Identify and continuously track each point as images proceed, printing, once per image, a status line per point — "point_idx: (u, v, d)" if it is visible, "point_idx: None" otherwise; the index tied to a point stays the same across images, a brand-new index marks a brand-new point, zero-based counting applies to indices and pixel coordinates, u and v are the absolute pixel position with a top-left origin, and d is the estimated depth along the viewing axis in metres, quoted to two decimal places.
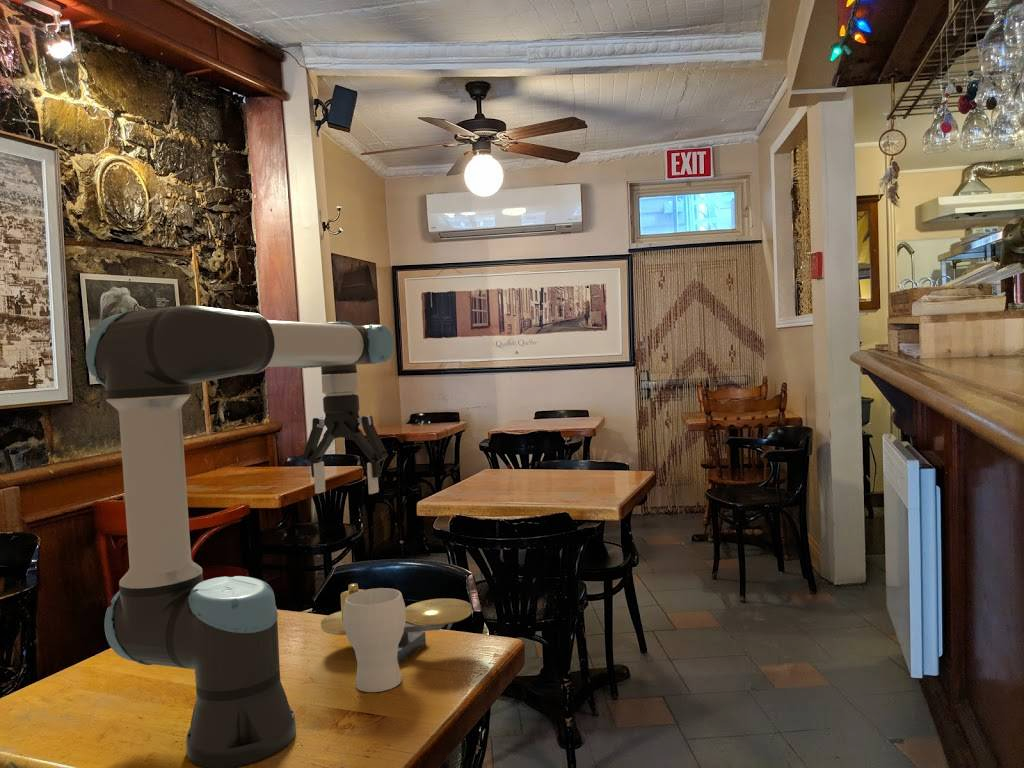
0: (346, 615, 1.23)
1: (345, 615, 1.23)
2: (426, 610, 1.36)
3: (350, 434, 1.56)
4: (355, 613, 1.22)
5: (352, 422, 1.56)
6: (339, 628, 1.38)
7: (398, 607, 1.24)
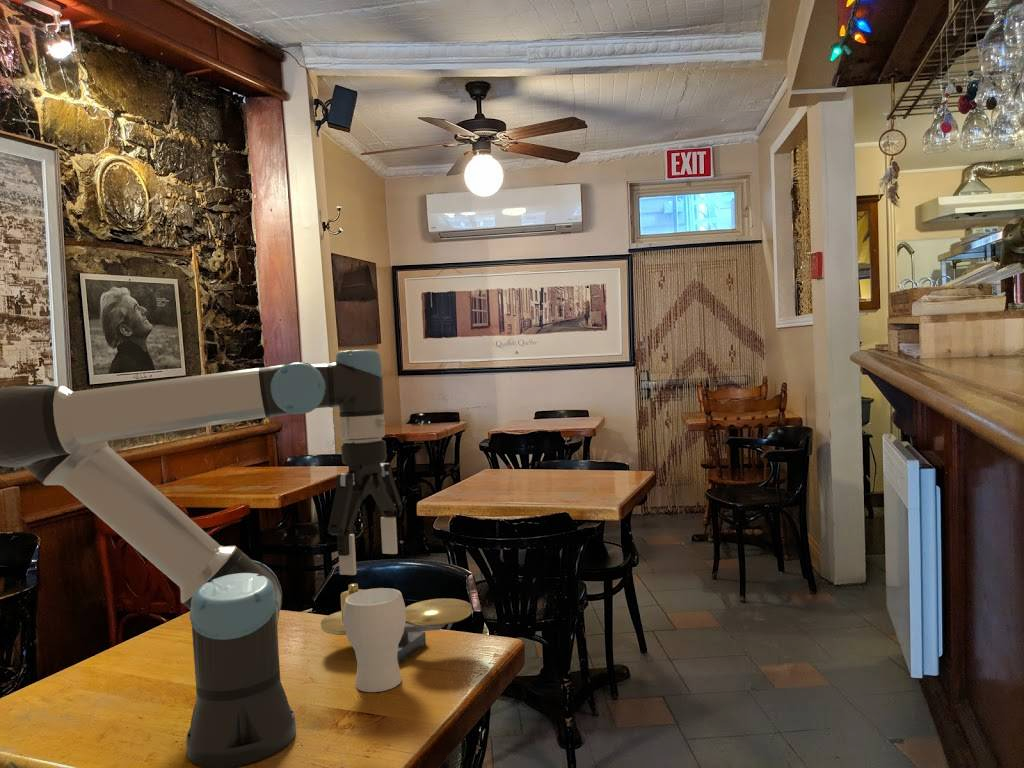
0: (346, 615, 1.23)
1: (345, 615, 1.23)
2: (426, 610, 1.36)
3: None
4: (355, 613, 1.22)
5: None
6: (339, 628, 1.38)
7: (398, 607, 1.24)
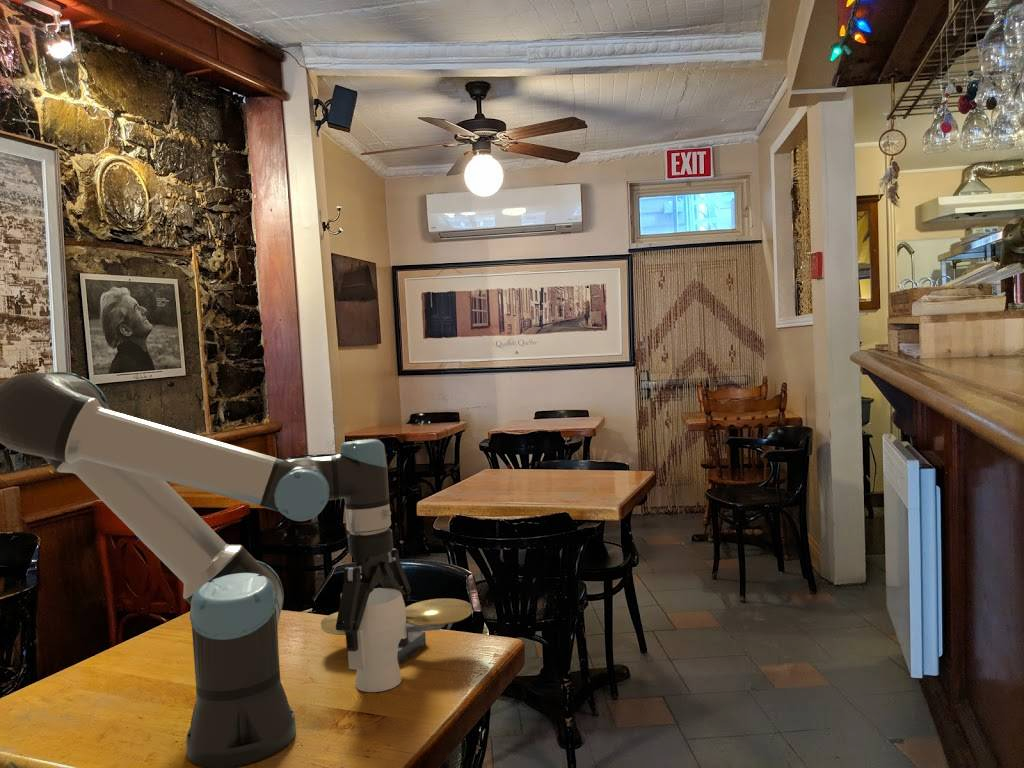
0: None
1: None
2: (426, 610, 1.36)
3: None
4: None
5: None
6: None
7: (398, 607, 1.24)
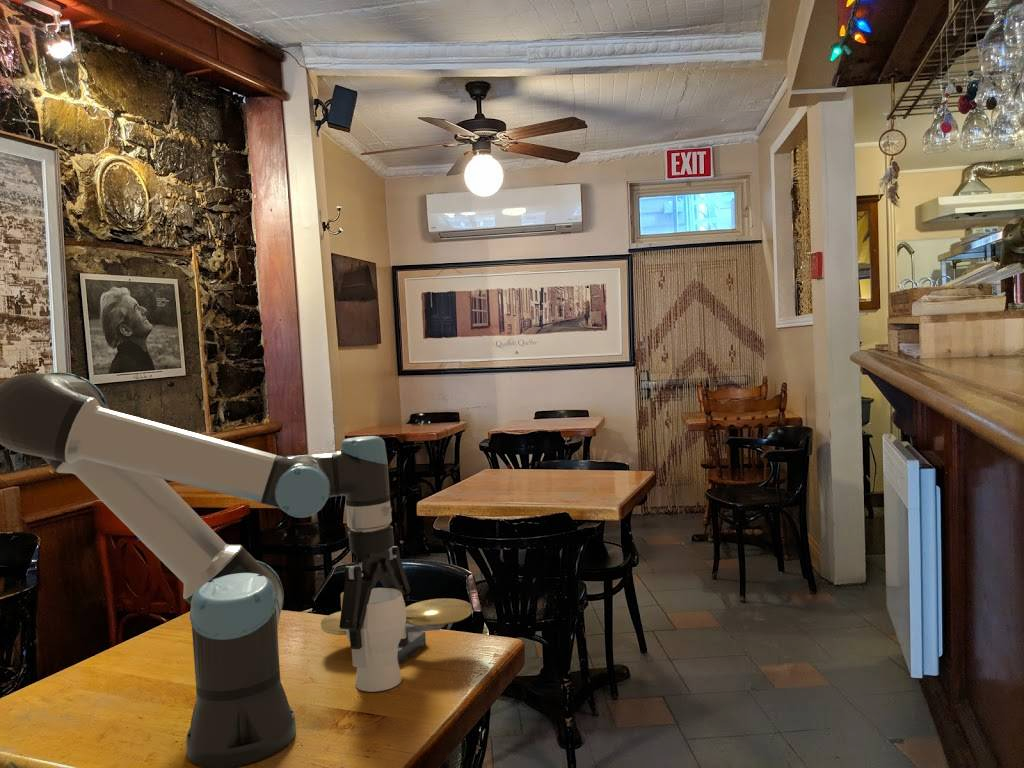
0: None
1: None
2: (426, 610, 1.36)
3: None
4: None
5: None
6: (339, 628, 1.38)
7: (398, 606, 1.24)
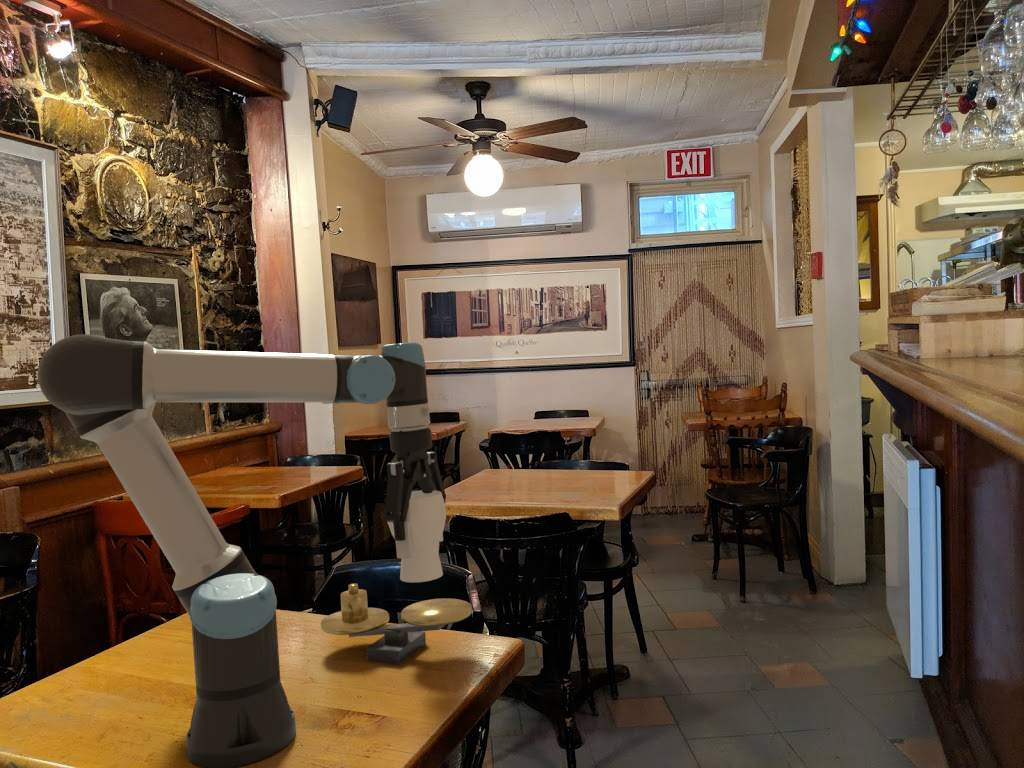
0: None
1: None
2: (426, 610, 1.36)
3: None
4: None
5: None
6: (339, 628, 1.38)
7: (439, 502, 1.31)
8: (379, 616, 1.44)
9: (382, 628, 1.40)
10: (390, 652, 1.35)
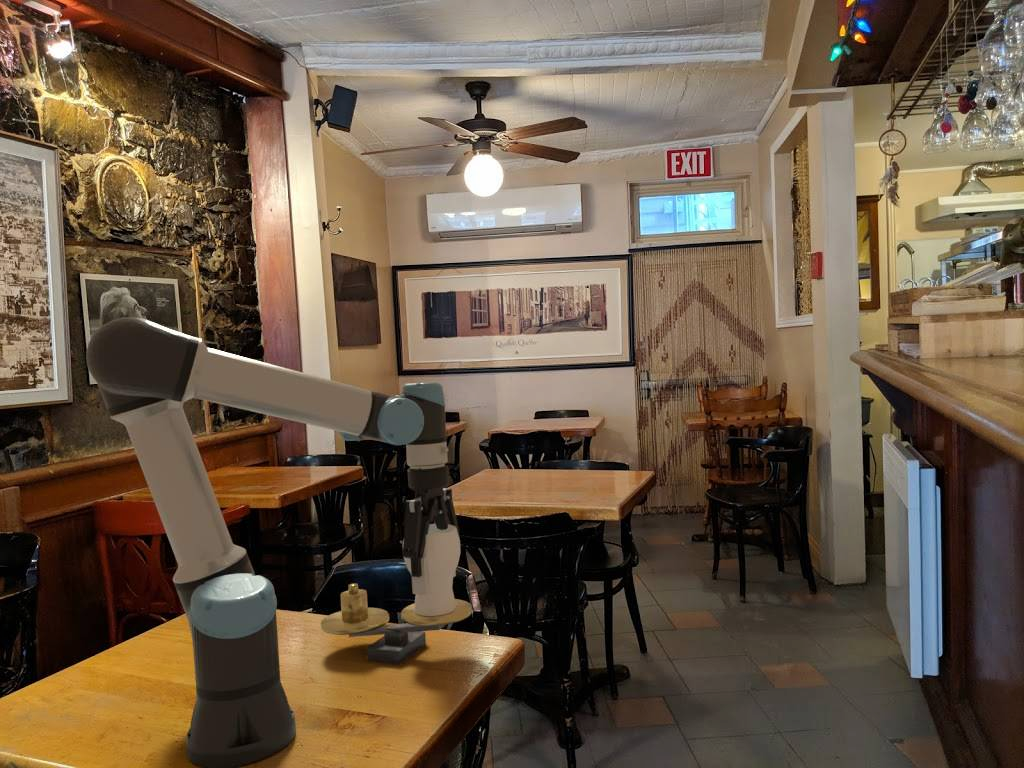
0: None
1: None
2: None
3: None
4: None
5: None
6: (339, 628, 1.38)
7: (454, 538, 1.34)
8: (379, 616, 1.44)
9: (382, 628, 1.40)
10: (390, 652, 1.35)
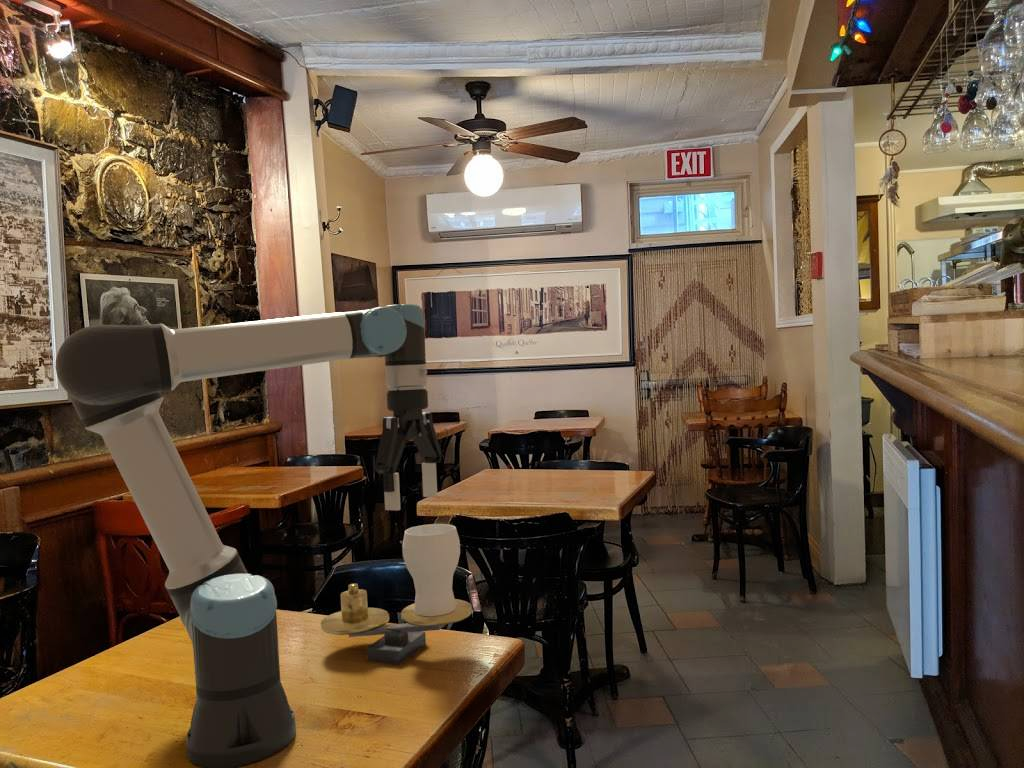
0: (406, 545, 1.33)
1: (405, 545, 1.33)
2: None
3: None
4: (415, 542, 1.32)
5: None
6: (339, 628, 1.38)
7: (454, 538, 1.34)
8: (379, 616, 1.44)
9: (382, 628, 1.40)
10: (390, 652, 1.35)
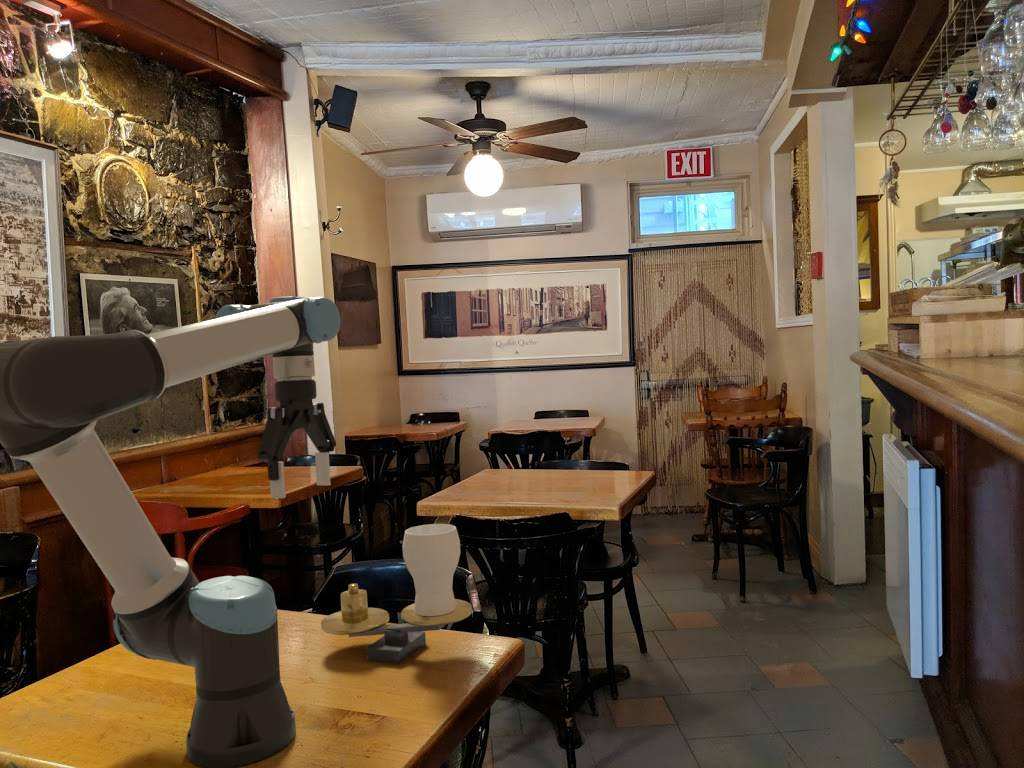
0: (406, 545, 1.33)
1: (405, 545, 1.33)
2: None
3: None
4: (415, 542, 1.32)
5: None
6: (339, 628, 1.38)
7: (454, 538, 1.34)
8: (379, 616, 1.44)
9: (382, 628, 1.40)
10: (390, 652, 1.35)
